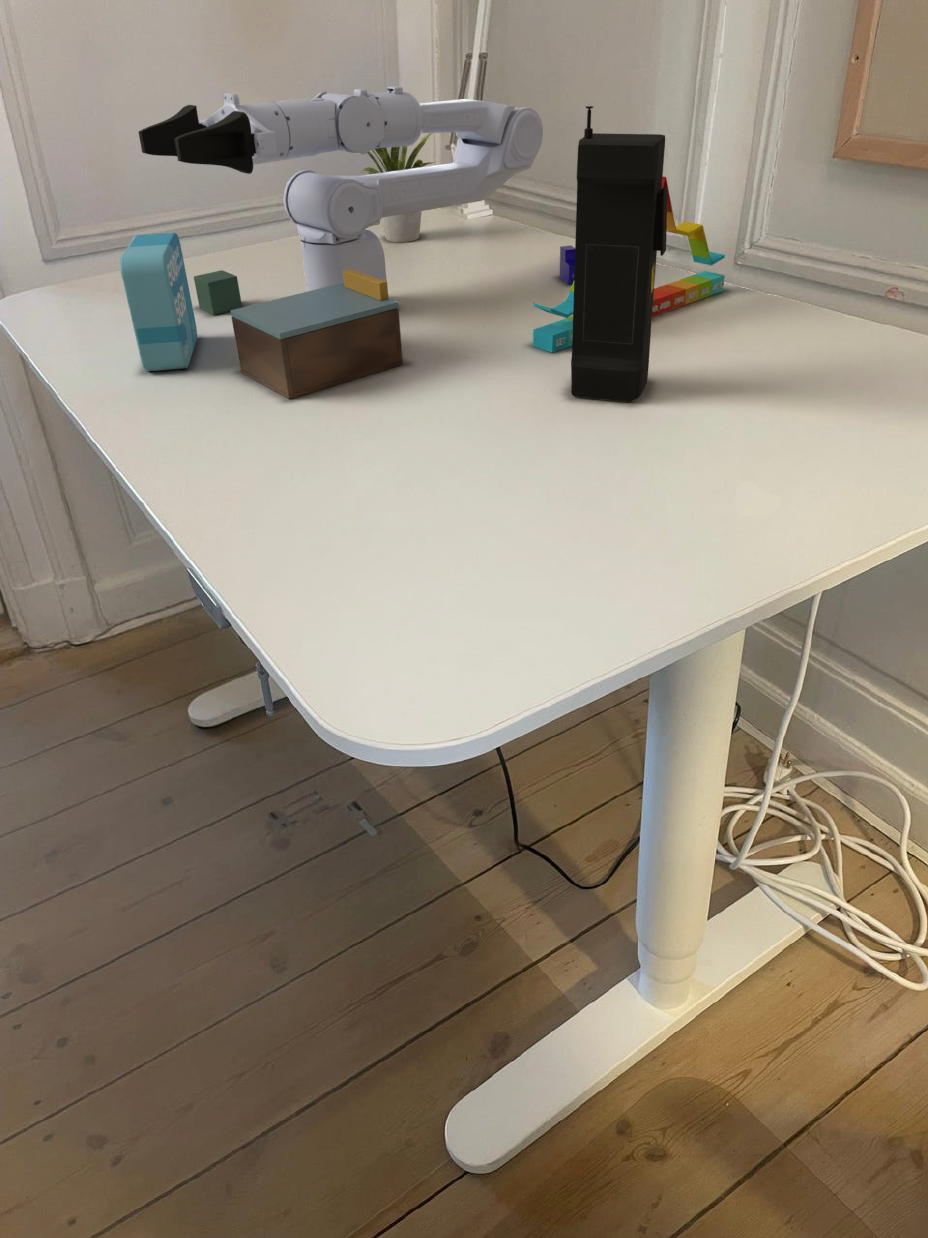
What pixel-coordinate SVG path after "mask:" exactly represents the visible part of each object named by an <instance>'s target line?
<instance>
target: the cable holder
mask: <svg viewBox="0 0 928 1238" xmlns="http://www.w3.org/2000/svg"><path fill="white" fill-rule="evenodd" d="M574 273H575V246H572V245H563V246H559V279H560V280H561V281H563V282H564V283H565V284H566V285H568V286H572V284H573V282H574Z"/></svg>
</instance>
